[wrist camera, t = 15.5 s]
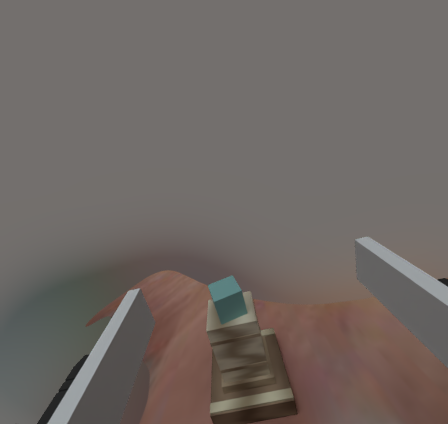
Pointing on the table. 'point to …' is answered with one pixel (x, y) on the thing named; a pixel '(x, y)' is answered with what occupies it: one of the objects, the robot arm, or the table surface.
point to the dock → (253, 393)
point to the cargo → (227, 299)
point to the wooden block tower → (240, 349)
